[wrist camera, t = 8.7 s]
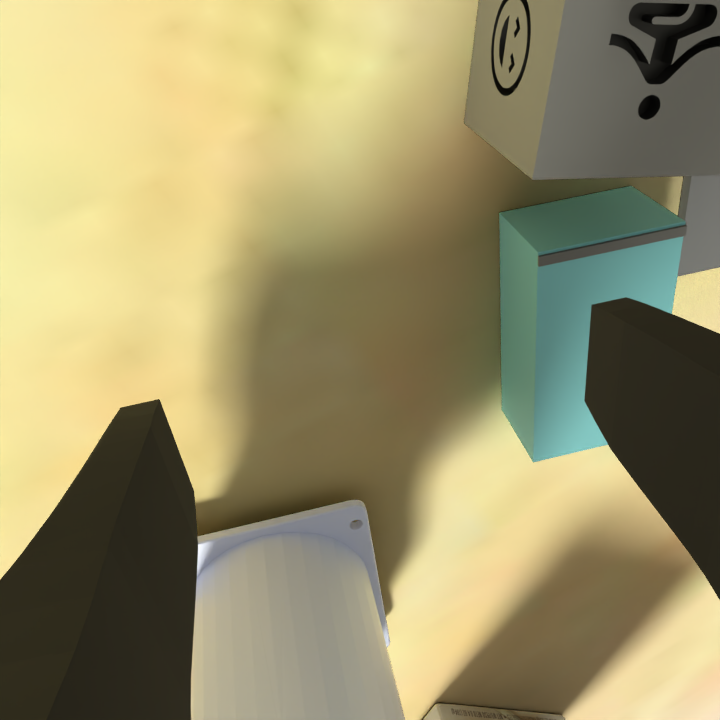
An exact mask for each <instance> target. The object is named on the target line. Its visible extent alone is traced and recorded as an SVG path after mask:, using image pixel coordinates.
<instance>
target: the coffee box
mask: <svg viewBox="0 0 720 720" xmlns="http://www.w3.org/2000/svg"><path fill="white" fill-rule="evenodd" d="M423 720H565V718H564V717H563V716H562V715H557V714H547V713H537V712H527V711H516V710H506V709H496V708H486V707H476V706H465V705H454V704H435V705H434V706H433V708H432V709H431V710H430V711H429V713H428V714H427V715H426V716H425V718H424V719H423Z"/></svg>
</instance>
